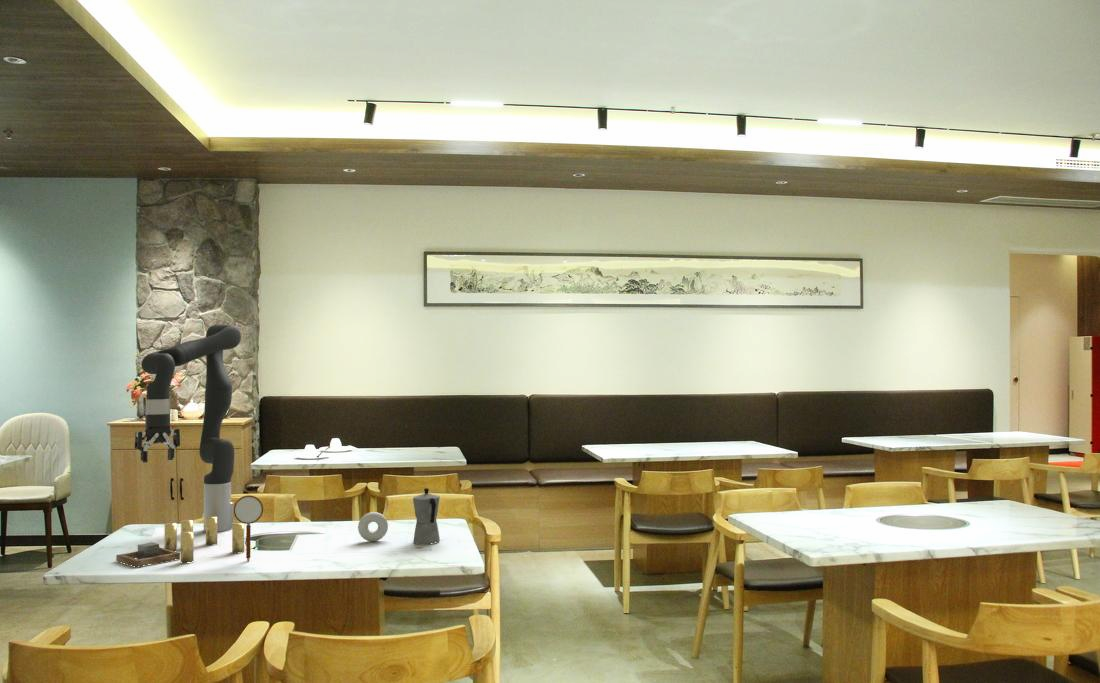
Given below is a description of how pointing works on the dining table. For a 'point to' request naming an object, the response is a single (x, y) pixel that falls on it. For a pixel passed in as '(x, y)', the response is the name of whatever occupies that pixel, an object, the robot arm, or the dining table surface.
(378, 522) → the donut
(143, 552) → the grey block
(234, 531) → the standing stones
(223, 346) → the robot arm
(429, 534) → the coffeepot
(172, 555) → the tray
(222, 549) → the dining table surface
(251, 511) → the magnifying glass
